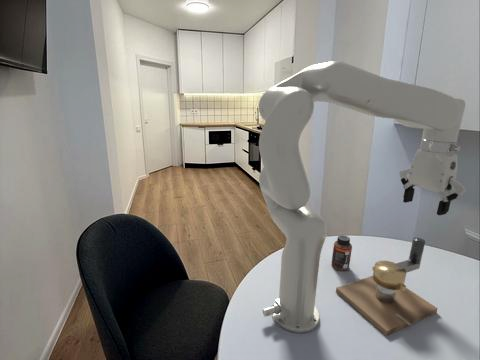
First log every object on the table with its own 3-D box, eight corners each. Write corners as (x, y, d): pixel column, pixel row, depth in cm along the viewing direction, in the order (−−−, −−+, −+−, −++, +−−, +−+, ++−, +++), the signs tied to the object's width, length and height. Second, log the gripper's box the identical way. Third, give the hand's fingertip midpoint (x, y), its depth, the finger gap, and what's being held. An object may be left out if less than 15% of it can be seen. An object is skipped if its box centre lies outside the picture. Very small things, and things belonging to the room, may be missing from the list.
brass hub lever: (393, 295, 74) (400, 259, 71) (363, 273, 83) (368, 240, 80) (432, 281, 80) (440, 247, 77) (400, 262, 89) (406, 231, 86)
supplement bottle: (350, 272, 96) (354, 243, 93) (332, 270, 97) (335, 241, 94) (347, 262, 102) (351, 234, 99) (330, 260, 103) (333, 232, 100)
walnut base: (389, 339, 70) (390, 333, 69) (335, 291, 87) (336, 287, 86) (440, 315, 78) (441, 310, 77) (382, 276, 94) (382, 271, 94)
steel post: (385, 305, 79) (389, 289, 77) (371, 294, 83) (374, 278, 82) (398, 300, 81) (401, 284, 79) (383, 290, 85) (386, 274, 84)
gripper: (483, 152, 67) (465, 217, 72) (415, 141, 82) (404, 196, 87) (464, 154, 64) (447, 222, 69) (397, 142, 80) (387, 199, 84)
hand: (423, 207), depth 78 cm, fingers open, 9 cm apart
